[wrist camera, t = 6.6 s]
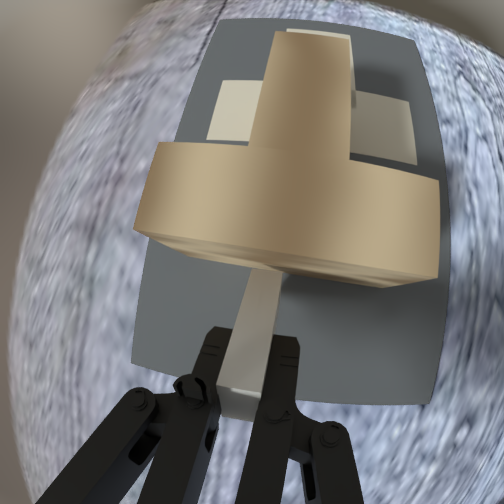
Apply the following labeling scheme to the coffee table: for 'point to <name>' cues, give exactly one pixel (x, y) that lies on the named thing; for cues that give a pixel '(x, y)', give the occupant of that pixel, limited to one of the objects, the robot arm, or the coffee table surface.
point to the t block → (296, 185)
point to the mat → (302, 287)
